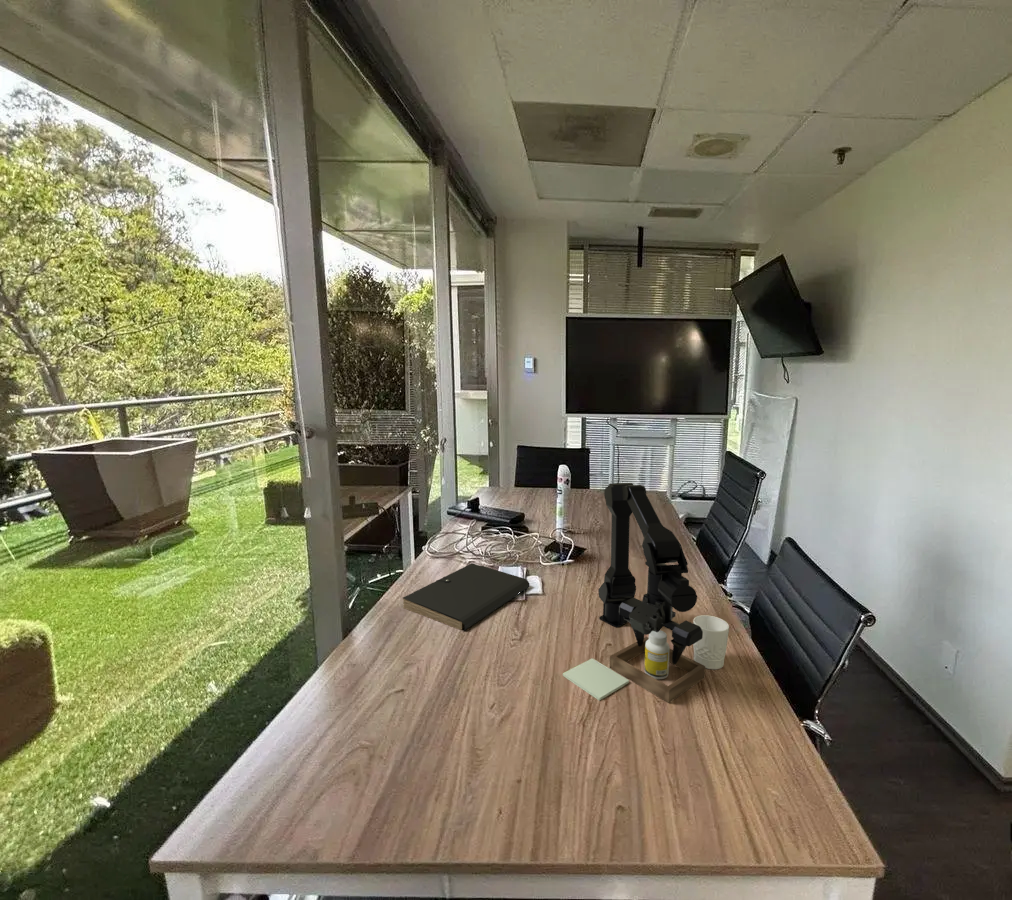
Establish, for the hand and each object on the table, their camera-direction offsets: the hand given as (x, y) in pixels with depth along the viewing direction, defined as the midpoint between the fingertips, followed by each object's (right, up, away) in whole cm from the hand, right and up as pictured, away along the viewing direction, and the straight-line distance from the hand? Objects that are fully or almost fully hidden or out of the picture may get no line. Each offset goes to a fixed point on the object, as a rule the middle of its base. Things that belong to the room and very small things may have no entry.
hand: (656, 654), depth 112 cm
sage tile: (-15, -5, -2) cm, 15 cm away
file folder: (-47, +1, +39) cm, 61 cm away
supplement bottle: (0, -5, +1) cm, 5 cm away
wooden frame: (0, -5, +1) cm, 5 cm away
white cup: (+14, -4, +5) cm, 16 cm away
